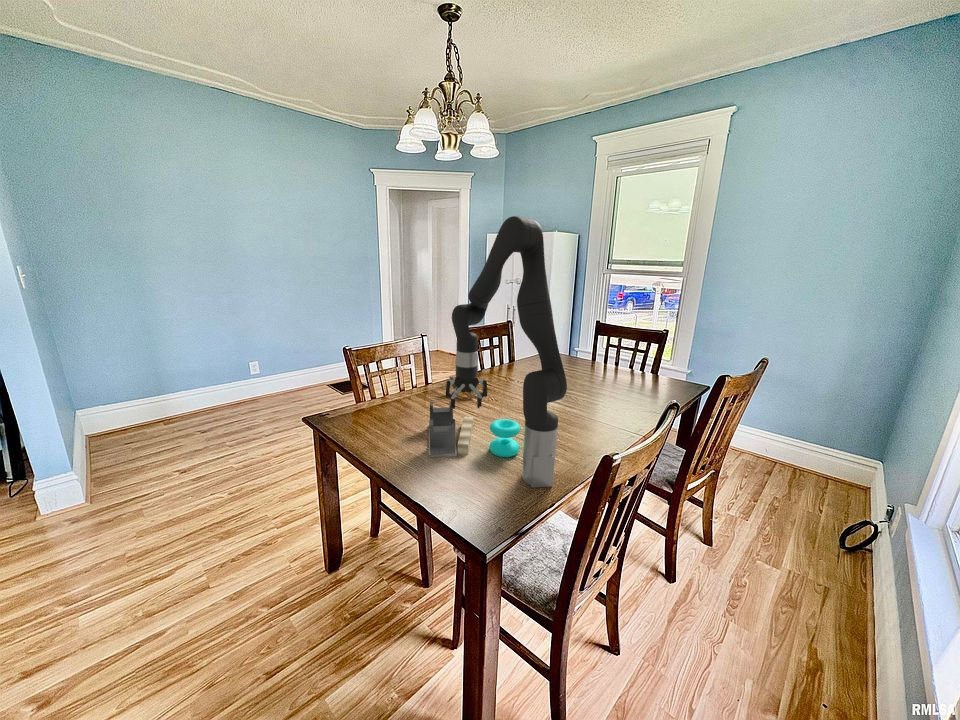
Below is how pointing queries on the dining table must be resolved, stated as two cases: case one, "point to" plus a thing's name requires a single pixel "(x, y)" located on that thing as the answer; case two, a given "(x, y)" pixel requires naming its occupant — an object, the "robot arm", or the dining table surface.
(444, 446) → the cradle bracket stand
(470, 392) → the lion figurine
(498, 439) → the turquoise hourglass-shaped piece
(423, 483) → the dining table surface
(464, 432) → the birch rail
